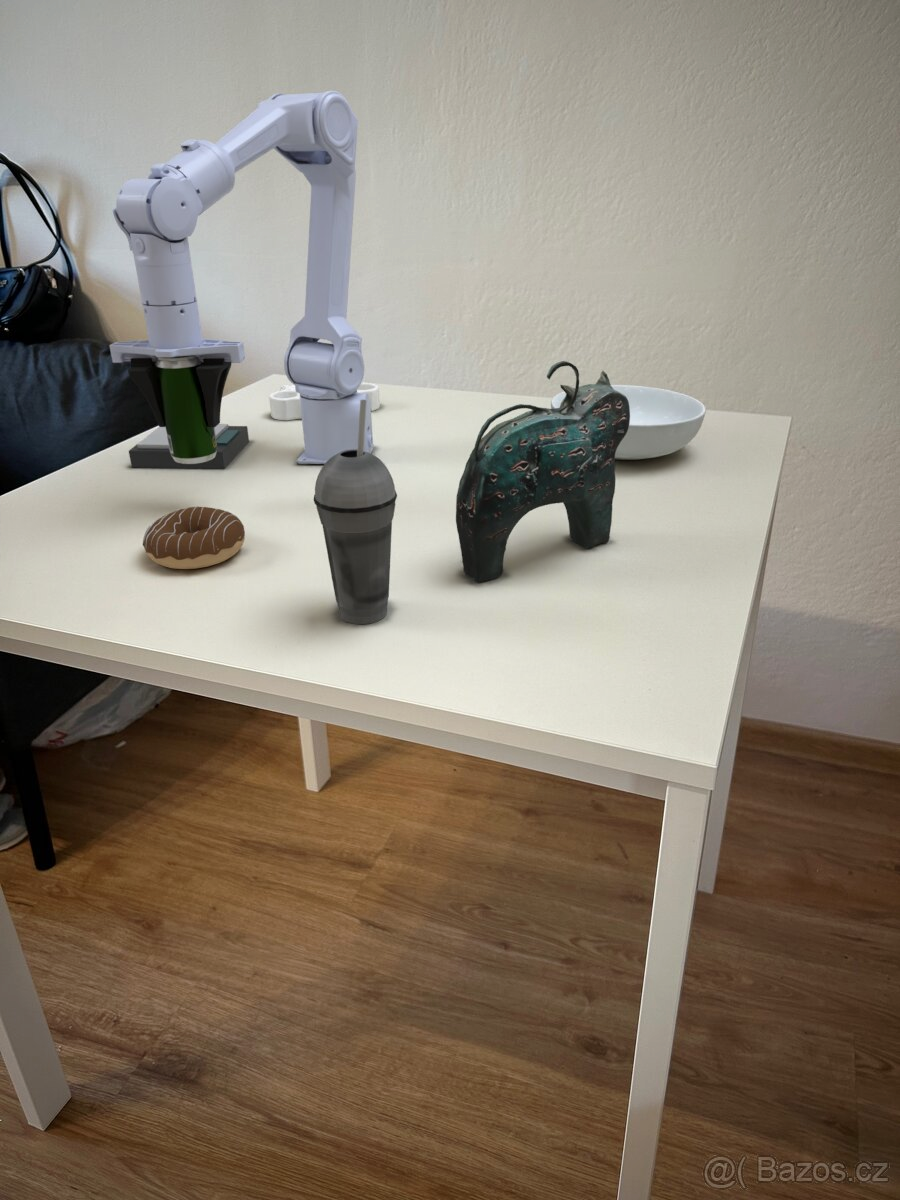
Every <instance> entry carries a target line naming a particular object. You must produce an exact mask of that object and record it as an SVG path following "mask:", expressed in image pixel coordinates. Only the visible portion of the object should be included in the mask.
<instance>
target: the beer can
mask: <svg viewBox="0 0 900 1200" xmlns="http://www.w3.org/2000/svg"><path fill="white" fill-rule="evenodd" d="M200 365H203V361H200V359H199V358H198V357H196V356H195V355H190V356H175V357H156V362H155V369H156V375H157V381H158V386H159V392H160V398H161V404H162V409H163V415H164V421H165V427H166V432H167V438H168V444H169V450H170V454H171V456H172V457H173V459H174V460H175V461H176V462H178V463H182V464H196V463H202V462H206V461H209V460H212V459H213V458H215V456H216V452H217V442H216V435H215V428H214V427H209V426H208V422H207V416H206V407H205V400H204V395H203V391H202V387H201V384H200V381H199V378H198V375H197V372H196V368H197V367H199V366H200Z"/></svg>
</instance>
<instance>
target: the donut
mask: <svg viewBox="0 0 900 1200" xmlns="http://www.w3.org/2000/svg"><path fill="white" fill-rule="evenodd" d="M245 538H246V531H245V526H244V524H243V523H242V521H241V519H240V518H239V517H238V516H237V515H235V514H233V513H231V512H229V511H227V510H224V509H221V508H214V507H208V506H189V507H185V508H179V509H176V510H174V511H172V512H169V513H167V514H164V515H163V516H161V517H158V518H157V519H156V520H154V522H152V523H151V524H150V525H149V526H148V527H146V530H145V532H144V535H143V539H142V547H143V548H144V551H145V553H146V555H147V556H148V557H149V559H151V560H152V562H154V563H156V564H158V565H160V566H163V567H166V568H169V569H176V570H177V569H178V570H195V569H200V568H208V567H211V566H213V565H218V564H220V563H222V562H225V561H226V560H229V559H231V558H232V557H233V556H235V555H236V554H237V553H238V552H239V551H240V550H241V548H242V547H243V544H244V542H245Z"/></svg>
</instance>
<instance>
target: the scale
mask: <svg viewBox="0 0 900 1200" xmlns="http://www.w3.org/2000/svg"><path fill="white" fill-rule="evenodd" d="M214 428H215V435H216V442H217V452H216V456H215V458H213V459H212V460H209V461H206V462H202V463H196V464H182V463H178V462H176V461H175V460H174V459H173V457H172V456H171V454H170V450H169V444H168V438H167V432H166V427H159V426H158V427H157V428H156V429H154V430H153V431H152V432H151V433H150V434H148V435H147V436H146V437H144V438H143V439H141V440H140V441H139V442H138V443H137V444H135V445H134V446H133V447H132V448H130V449H129V450H128V455H129V460H130V465H131V468H132V469H133V468H137V469H138V468H140V469H142V468H143V469H144V468H145V469H204V470H205V469H209V470H210V469H211V470H212V469H213V470H214V469H216V470H224V469H226V468H227V467H228V466H229V464H230V463H232V461H233V460H235V458H236V457H237V455H239V454H240V453H241V452H242V450H243V449H244V448H245V447H246V446H247V445H248V444H249V442H250V437H249V436H250V435H249V428H248V426H247V425H229V423H219V424H218V425H217V426H216V427H214Z"/></svg>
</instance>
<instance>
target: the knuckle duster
mask: <svg viewBox="0 0 900 1200" xmlns="http://www.w3.org/2000/svg"><path fill="white" fill-rule="evenodd" d="M279 389H280V390H278V391H273V392H272V393H270V394H269V396H268V399H269V400H268V401H269V409H270V415H271V418H273V419H275V420H277V421H278V420H279V421H287V422H288V421H294V420H302V414H301V403H300V394H299V393H297V392H296V391H295V385H294V384H291V385H287V384H282V385H280V387H279ZM357 393H365V394H368V395H369V398H370V403H371V412H374V411H376V410H378V409H379V408H380V407H381V401H380V387H379V385H377V384H375V383H370V382H361V384H360V386H359V387H358V389H357Z"/></svg>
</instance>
